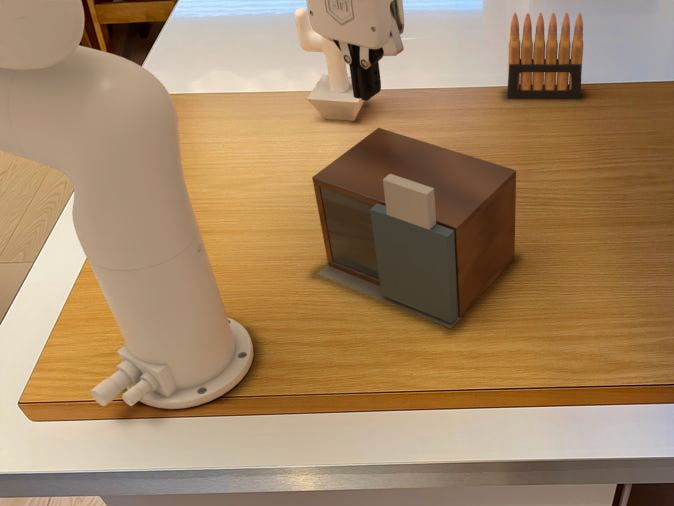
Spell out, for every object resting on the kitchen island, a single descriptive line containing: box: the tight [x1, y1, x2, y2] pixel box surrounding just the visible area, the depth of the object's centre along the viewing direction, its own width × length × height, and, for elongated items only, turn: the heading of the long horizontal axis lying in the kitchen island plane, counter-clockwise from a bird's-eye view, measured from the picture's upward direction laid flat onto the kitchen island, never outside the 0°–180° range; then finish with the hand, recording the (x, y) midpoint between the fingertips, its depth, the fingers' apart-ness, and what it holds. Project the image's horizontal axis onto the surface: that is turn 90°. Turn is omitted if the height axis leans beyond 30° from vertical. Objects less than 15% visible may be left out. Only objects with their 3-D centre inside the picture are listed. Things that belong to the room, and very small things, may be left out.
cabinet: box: [311, 127, 517, 330], centre depth 88 cm, size 14×18×12 cm
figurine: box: [294, 7, 365, 122], centre depth 112 cm, size 7×9×15 cm
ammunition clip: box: [506, 12, 584, 100], centre depth 116 cm, size 11×2×12 cm, turn 88°
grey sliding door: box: [370, 174, 458, 324], centre depth 81 cm, size 1×9×15 cm, turn 59°
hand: (367, 94), depth 95 cm, fingers closed
